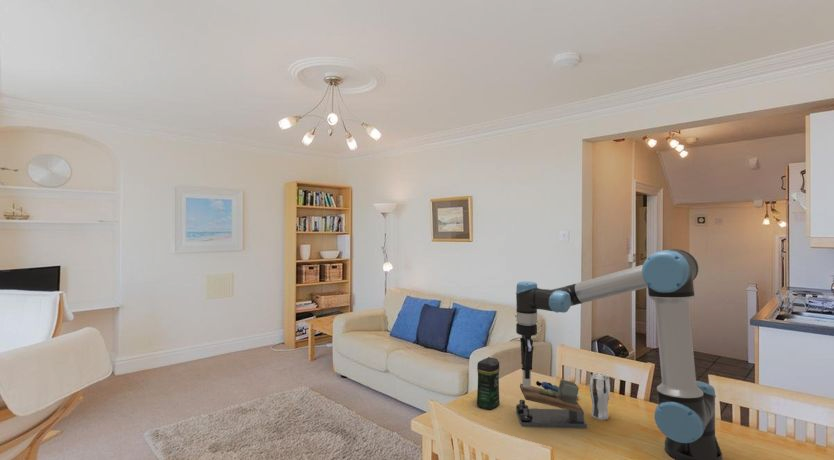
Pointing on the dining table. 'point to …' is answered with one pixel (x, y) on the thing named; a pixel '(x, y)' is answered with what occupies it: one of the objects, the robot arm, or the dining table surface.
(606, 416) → the beer glass
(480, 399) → the coffee jar
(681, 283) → the robot arm
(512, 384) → the dining table surface
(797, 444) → the dining table surface
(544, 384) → the person figurine
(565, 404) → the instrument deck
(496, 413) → the dining table surface
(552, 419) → the grey base with fittings
